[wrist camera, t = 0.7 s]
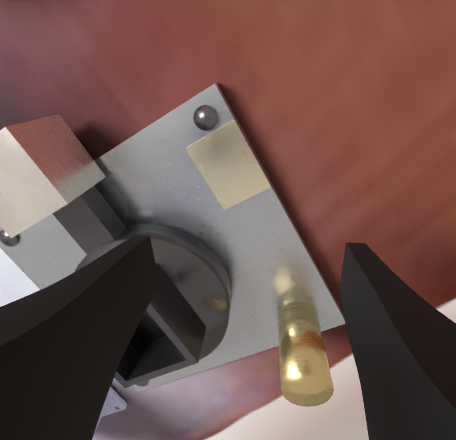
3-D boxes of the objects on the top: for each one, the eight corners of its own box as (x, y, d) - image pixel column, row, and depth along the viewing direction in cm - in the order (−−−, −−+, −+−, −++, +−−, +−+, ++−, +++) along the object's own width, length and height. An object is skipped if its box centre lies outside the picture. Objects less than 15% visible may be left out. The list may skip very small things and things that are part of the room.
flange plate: (141, 382, 31) (137, 394, 30) (-6, 224, 25) (-18, 232, 24) (343, 313, 25) (347, 325, 24) (217, 82, 19) (214, 83, 18)
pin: (288, 337, 25) (294, 411, 20) (270, 310, 24) (272, 380, 19) (324, 325, 24) (341, 398, 19) (307, 296, 23) (320, 365, 18)
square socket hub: (143, 360, 27) (118, 420, 23) (-24, 173, 21) (-104, 204, 17) (258, 318, 24) (257, 378, 20) (100, 83, 18) (43, 89, 13)
